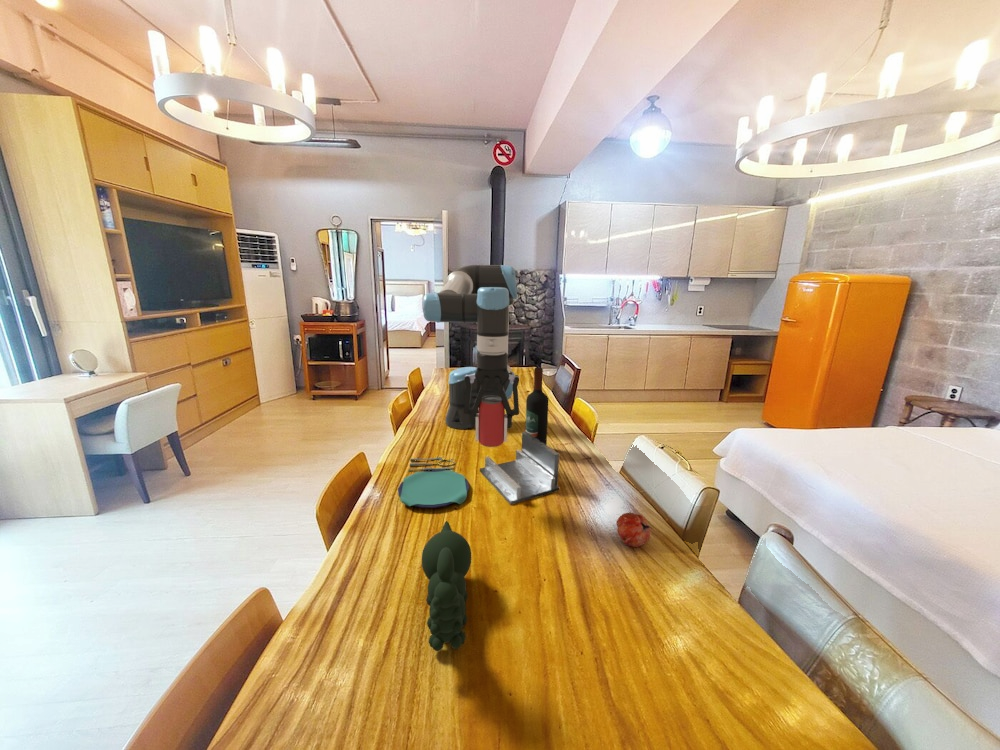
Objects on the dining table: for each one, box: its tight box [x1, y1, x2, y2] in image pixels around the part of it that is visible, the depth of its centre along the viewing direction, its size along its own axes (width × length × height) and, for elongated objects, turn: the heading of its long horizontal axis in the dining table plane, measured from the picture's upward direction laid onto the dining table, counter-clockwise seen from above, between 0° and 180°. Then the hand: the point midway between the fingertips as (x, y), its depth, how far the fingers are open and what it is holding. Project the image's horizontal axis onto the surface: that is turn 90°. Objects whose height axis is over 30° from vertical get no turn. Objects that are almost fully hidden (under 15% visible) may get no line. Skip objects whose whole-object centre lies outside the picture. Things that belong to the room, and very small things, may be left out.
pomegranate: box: [615, 511, 653, 548], centre depth 85 cm, size 7×7×10 cm
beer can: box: [478, 396, 506, 448], centre depth 95 cm, size 7×7×12 cm
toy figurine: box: [421, 520, 472, 652], centre depth 66 cm, size 9×19×25 cm
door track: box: [479, 431, 560, 506], centre depth 110 cm, size 20×16×11 cm
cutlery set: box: [397, 456, 470, 509], centre depth 110 cm, size 20×30×2 cm, turn 9°
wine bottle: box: [525, 367, 549, 446], centre depth 128 cm, size 8×8×30 cm
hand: (491, 438), depth 96 cm, fingers closed on beer can, 7 cm apart
